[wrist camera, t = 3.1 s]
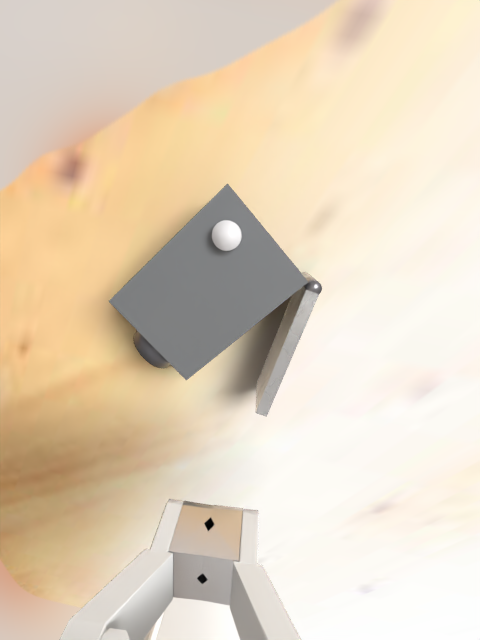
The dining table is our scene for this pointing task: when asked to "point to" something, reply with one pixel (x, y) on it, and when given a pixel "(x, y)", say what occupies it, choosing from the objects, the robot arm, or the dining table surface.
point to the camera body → (207, 287)
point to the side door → (285, 343)
